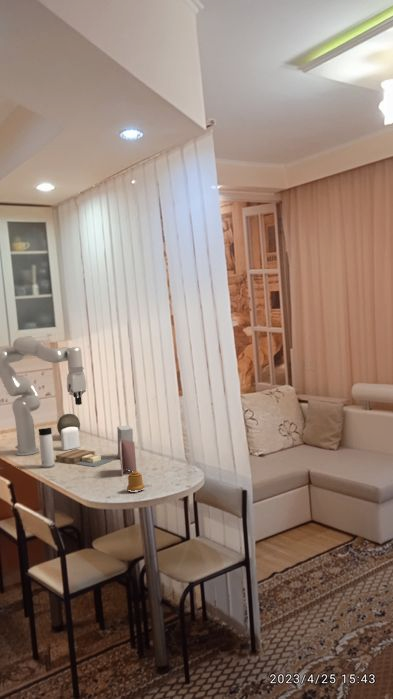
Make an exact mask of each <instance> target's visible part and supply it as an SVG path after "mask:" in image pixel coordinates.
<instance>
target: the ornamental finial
mask: <svg viewBox="0 0 393 699" xmlns="http://www.w3.org/2000/svg"><path fill="white" fill-rule="evenodd" d="M127 479H128V485H127V487H126V490H127V491H128V490H131V491H135V490H141V489H143V488H146V486H145V484H144V483H143V475H142V474H141V473H140V472H138V471H133V472H130V473H129V474H128V476H127Z"/></svg>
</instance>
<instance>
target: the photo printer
mask: <svg viewBox="0 0 393 699" xmlns="http://www.w3.org/2000/svg"><path fill="white" fill-rule="evenodd" d="M79 432H80V429H79V430H78V428H77V427H67V428H64V429H62V430H61V435H60V440H61V450H62V451H70V450H75V449H79V448H81V447H80V446H81V444H80V433H79Z"/></svg>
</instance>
